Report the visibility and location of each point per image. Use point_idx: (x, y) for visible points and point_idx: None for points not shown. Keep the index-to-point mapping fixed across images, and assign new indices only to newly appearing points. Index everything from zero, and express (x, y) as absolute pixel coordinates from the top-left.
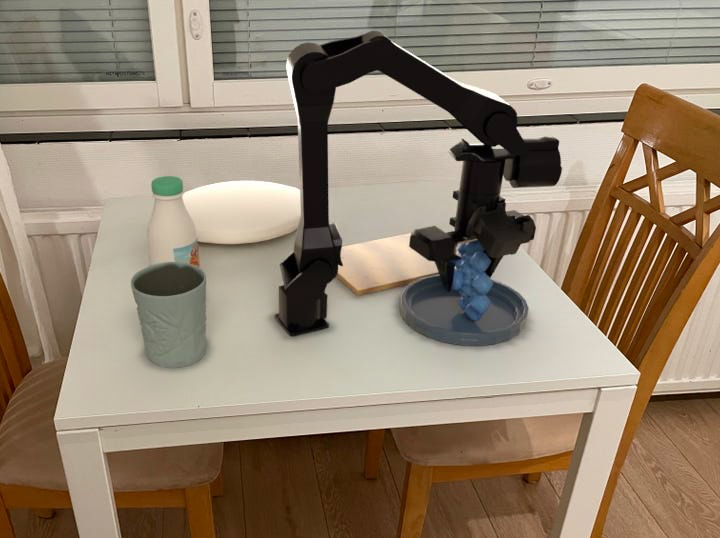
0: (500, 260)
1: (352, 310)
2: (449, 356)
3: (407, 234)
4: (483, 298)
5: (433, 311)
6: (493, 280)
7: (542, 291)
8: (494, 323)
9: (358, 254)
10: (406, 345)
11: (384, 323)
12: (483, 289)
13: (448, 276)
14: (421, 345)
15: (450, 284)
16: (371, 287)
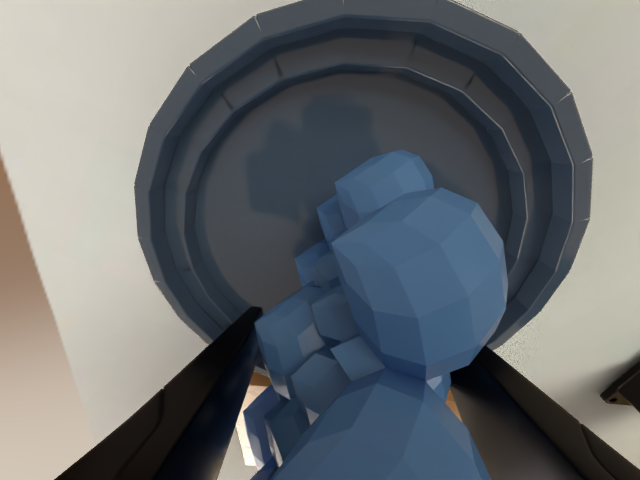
0: (128, 420)
1: (539, 364)
2: (622, 48)
3: (252, 464)
4: (412, 191)
5: None
6: (186, 320)
7: (61, 240)
8: (301, 160)
9: None
10: (633, 195)
11: (546, 304)
12: (478, 209)
13: (569, 416)
14: (602, 172)
15: (484, 353)
16: (451, 401)
